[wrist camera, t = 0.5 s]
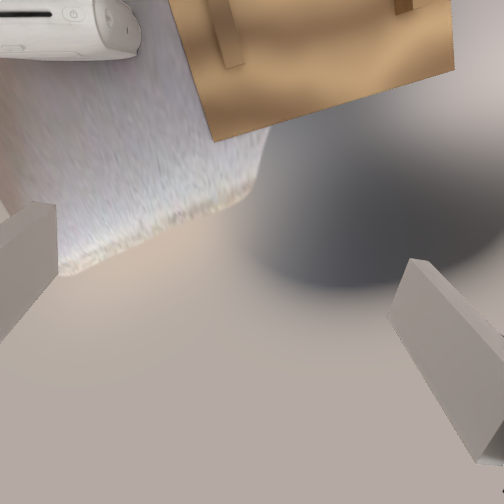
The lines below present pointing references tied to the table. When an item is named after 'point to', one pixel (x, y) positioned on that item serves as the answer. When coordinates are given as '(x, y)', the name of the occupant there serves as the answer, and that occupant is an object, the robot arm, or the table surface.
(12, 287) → the robot arm
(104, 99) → the table surface
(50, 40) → the photo printer
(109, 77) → the table surface
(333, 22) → the ledge shelf
